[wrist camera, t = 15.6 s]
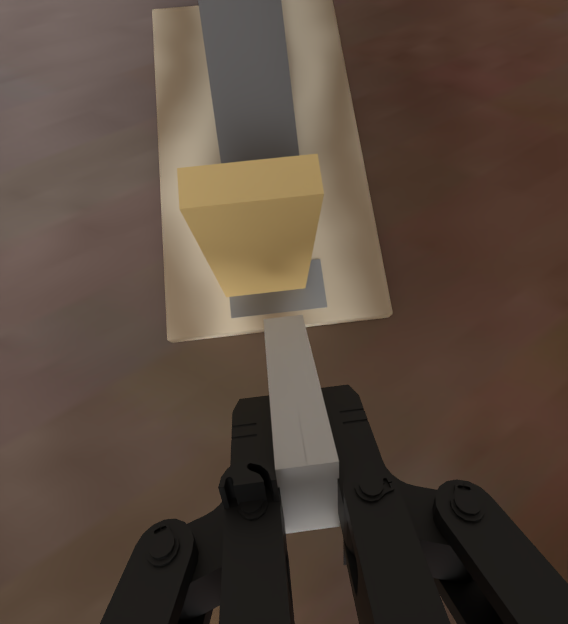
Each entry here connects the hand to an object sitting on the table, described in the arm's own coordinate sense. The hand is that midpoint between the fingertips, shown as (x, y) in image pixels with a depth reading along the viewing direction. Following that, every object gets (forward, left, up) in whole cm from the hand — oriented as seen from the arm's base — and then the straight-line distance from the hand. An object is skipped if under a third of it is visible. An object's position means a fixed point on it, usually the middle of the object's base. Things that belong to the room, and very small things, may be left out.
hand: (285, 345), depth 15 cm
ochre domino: (+1, -5, -8) cm, 10 cm away
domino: (0, -12, -7) cm, 14 cm away
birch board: (0, -15, -9) cm, 18 cm away
